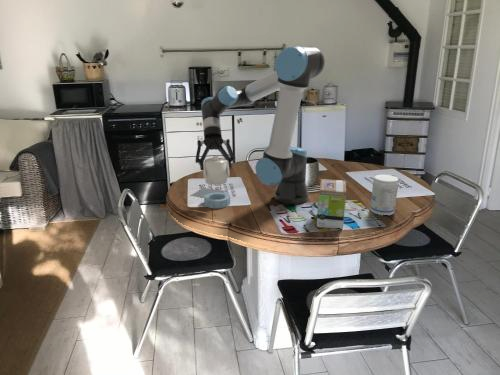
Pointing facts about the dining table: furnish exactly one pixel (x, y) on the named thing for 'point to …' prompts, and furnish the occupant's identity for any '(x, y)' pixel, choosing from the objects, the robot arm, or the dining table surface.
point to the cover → (216, 170)
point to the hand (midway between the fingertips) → (216, 176)
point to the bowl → (217, 200)
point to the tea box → (331, 203)
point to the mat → (206, 192)
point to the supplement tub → (384, 194)
